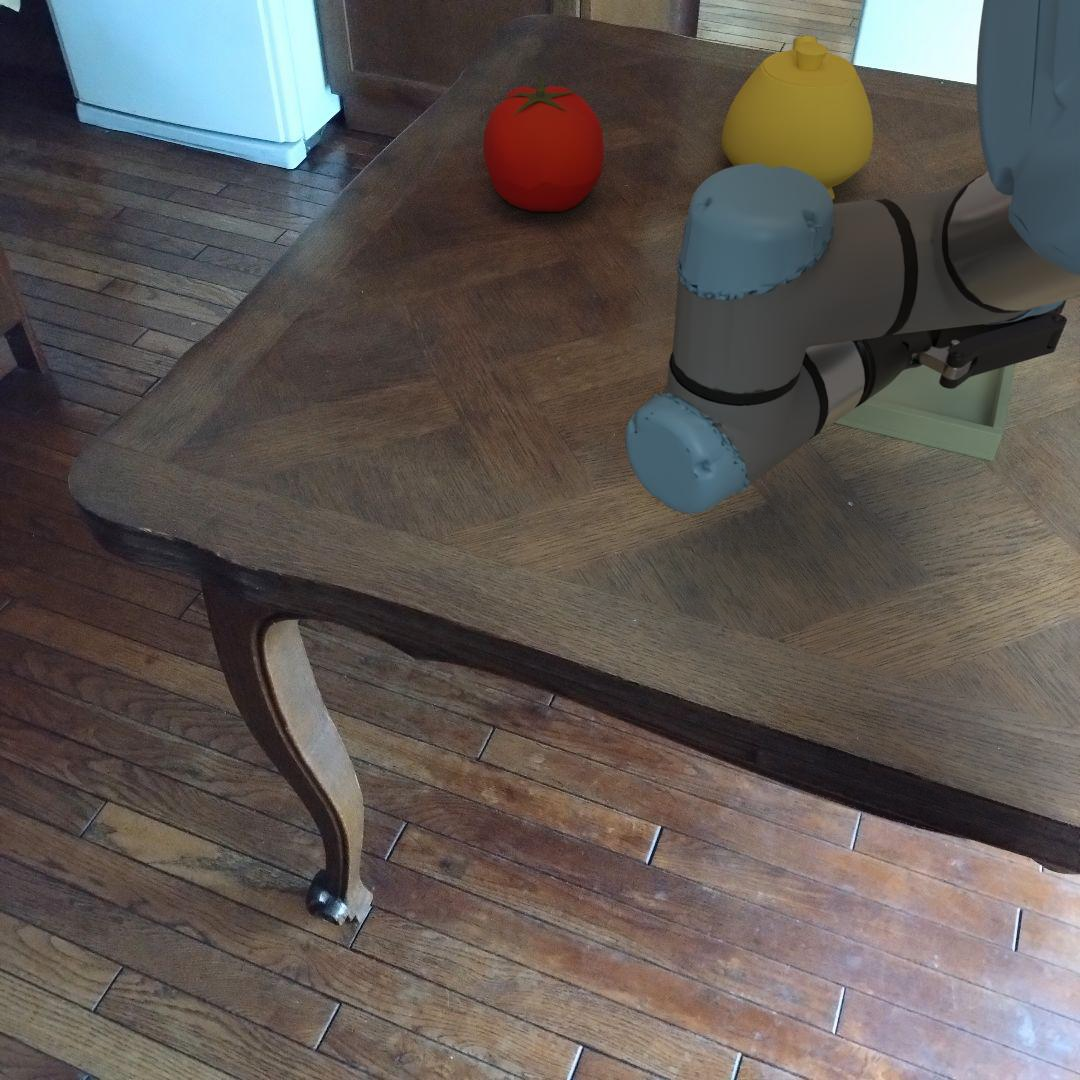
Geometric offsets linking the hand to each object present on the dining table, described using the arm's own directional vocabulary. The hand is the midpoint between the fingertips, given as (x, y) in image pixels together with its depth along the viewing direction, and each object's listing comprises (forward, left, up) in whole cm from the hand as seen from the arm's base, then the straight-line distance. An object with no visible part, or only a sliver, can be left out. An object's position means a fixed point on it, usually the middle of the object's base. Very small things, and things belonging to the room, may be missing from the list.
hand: (1000, 244), depth 80 cm
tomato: (+15, +44, -13) cm, 48 cm away
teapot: (+32, +22, -13) cm, 41 cm away
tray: (+1, +5, -13) cm, 14 cm away
